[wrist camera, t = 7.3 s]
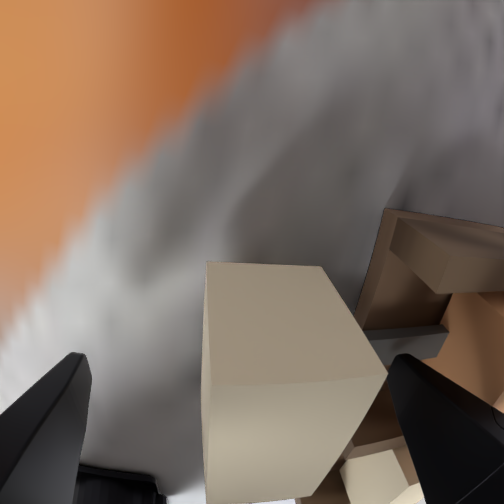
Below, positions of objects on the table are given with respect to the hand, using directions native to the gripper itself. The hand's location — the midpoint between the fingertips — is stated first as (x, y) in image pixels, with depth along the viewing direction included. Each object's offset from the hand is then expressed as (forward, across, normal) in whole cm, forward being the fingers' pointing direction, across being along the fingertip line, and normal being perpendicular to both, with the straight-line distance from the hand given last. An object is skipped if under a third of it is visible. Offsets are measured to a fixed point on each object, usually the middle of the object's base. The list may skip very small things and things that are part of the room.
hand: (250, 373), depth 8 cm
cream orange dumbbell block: (+1, -6, 0) cm, 6 cm away
